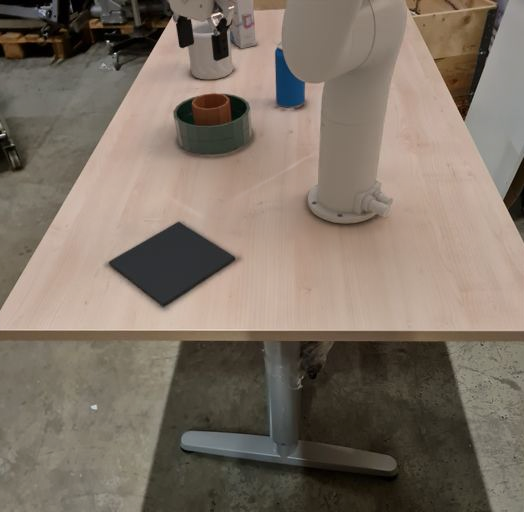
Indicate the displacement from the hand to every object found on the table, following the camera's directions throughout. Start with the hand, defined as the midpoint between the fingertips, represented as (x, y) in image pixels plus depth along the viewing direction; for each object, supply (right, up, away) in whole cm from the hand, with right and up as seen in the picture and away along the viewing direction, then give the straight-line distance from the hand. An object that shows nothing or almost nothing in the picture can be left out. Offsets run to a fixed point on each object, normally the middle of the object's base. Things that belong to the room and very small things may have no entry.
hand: (203, 52), depth 88 cm
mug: (-3, +18, +37) cm, 41 cm away
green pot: (+1, -11, +12) cm, 16 cm away
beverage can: (+17, +1, +21) cm, 27 cm away
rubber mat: (-3, -41, -13) cm, 43 cm away
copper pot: (+1, -10, +12) cm, 16 cm away
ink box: (+5, +33, +49) cm, 59 cm away
